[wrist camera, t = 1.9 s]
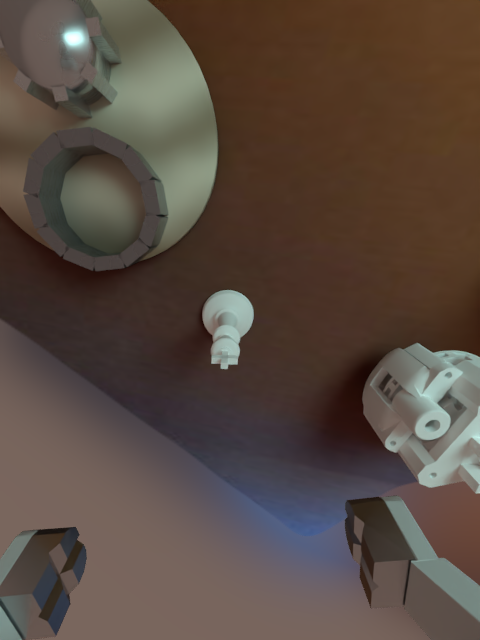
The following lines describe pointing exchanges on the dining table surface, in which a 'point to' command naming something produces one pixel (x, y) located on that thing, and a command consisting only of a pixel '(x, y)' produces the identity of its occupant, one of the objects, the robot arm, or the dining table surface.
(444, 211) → the dining table surface
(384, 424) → the mechanical part
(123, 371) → the dining table surface
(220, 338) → the chess piece
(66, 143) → the socket collar
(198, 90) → the carrier plate
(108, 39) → the sun gear
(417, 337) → the dining table surface
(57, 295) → the dining table surface
